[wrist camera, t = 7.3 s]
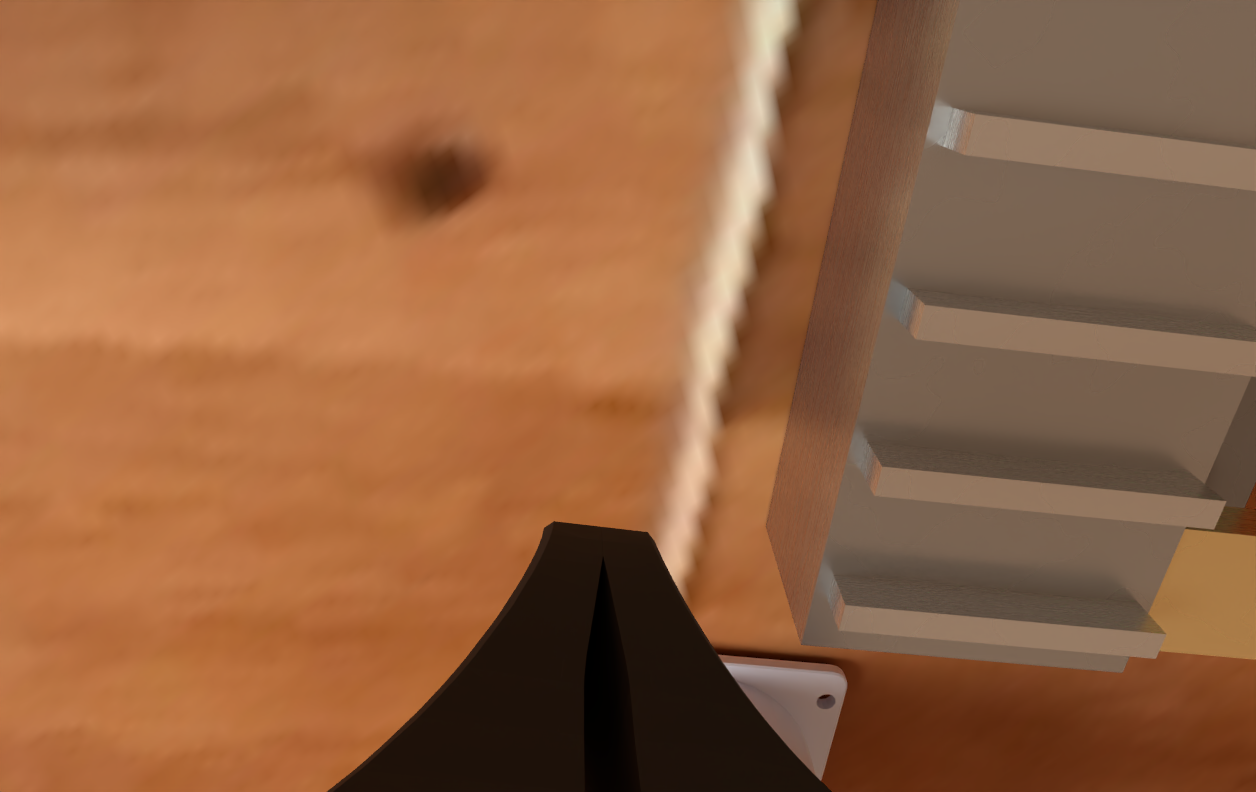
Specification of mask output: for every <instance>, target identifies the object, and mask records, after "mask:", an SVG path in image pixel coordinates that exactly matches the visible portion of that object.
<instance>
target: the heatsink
mask: <svg viewBox="0 0 1256 792" xmlns="http://www.w3.org/2000/svg"><path fill="white" fill-rule="evenodd" d="M1251 376H1253V377H1256V0H878V2H877V6H876V11H875V16H874V21H873V25H872V30H871V35H870V39H869V44H868V49H867V54H866V58H865V63H864V68H863V72H862V77H861V82H860V86H859V91H858V96H857V101H856V105H855V110H854V115H853V119H852V124H851V129H850V134H849V138H848V143H847V148H846V152H845V157H844V162H843V167H842V171H841V176H840V181H839V185H838V190H837V195H836V199H835V204H834V209H833V214H832V218H831V223H830V228H829V232H828V237H827V242H826V247H825V251H824V256H823V261H822V265H821V270H820V275H819V279H818V284H817V289H816V294H815V298H814V303H813V308H812V312H811V317H810V322H809V327H808V331H807V336H806V341H805V345H804V350H803V355H802V360H801V364H800V369H799V374H798V378H797V383H796V388H795V392H794V397H793V402H792V407H791V411H790V416H789V421H788V425H787V430H786V435H785V440H784V444H783V449H782V454H781V458H780V463H779V468H778V472H777V477H776V482H775V487H774V491H773V496H772V501H771V505H770V510H769V515H768V520H767V524H766V528H767V532H768V535H769V538H770V542H771V545H772V549H773V552H774V555H775V559H776V562H777V565H778V569H779V572H780V575H781V579H782V582H783V586H784V589H785V592H786V596H787V599H788V602H789V606H790V609H791V612H792V616H793V619H794V623H795V626H796V629H797V633H798V636H799V639H800V643H801V645H810V646H821V647H832V648H844V649H855V650H867V651H878V652H890V653H901V654H912V655H924V656H935V657H947V658H958V659H969V660H981V661H992V662H1004V663H1015V664H1027V665H1038V666H1049V667H1061V668H1072V669H1084V670H1095V671H1106V672H1118V673H1123V671H1124V668H1125V666H1126V664H1127V661H1128V659H1129V657H1142V658H1153V659H1156V657H1157V655H1158V653H1159V651H1164V652H1176V653H1187V654H1198V655H1209V656H1220V657H1231V658H1243V659H1254V660H1256V509H1248V508H1238V507H1229V506H1225V504H1226V502H1227V501H1226V500H1224V499H1223V498H1222V497H1221V496H1219V495H1218V494H1217V493H1216V492H1214V491H1213V490H1212V489H1210V488H1209V487H1208V486H1207V485H1205V482H1206V480H1207V478H1208V475H1209V473H1210V471H1211V468H1212V466H1213V464H1214V461H1215V459H1216V457H1217V455H1218V452H1219V450H1220V448H1221V445H1222V443H1223V441H1224V438H1225V436H1226V434H1227V432H1228V429H1229V427H1230V425H1231V422H1232V420H1233V418H1234V415H1235V413H1236V411H1237V409H1238V406H1239V404H1240V402H1241V399H1242V397H1243V395H1244V392H1245V390H1246V388H1247V386H1248V383H1249V381H1250V379H1251Z"/></svg>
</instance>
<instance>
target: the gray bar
mask: <svg viewBox="0 0 1256 792" xmlns="http://www.w3.org/2000/svg"><path fill="white" fill-rule="evenodd" d="M1255 483H1256V377H1253V376H1251V379H1250V381H1249V383H1248V386H1247V388H1246V390H1245V392H1244V395H1243V397H1242V399H1241V402H1240V404H1239V406H1238V409H1237V411H1236V413H1235V415H1234V418H1233V420H1232V422H1231V425H1230V427H1229V429H1228V432H1227V434H1226V436H1225V438H1224V441H1223V443H1222V445H1221V448H1220V450H1219V452H1218V455H1217V457H1216V459H1215V461H1214V464H1213V466H1212V468H1211V471H1210V473H1209V475H1208V478H1207V480H1206V482H1205V485H1207V486H1208V487H1209V488H1210V489H1212V490H1213V491H1214V492H1216V493H1217V494H1218V495H1219V496H1221V497H1222V498H1223V499H1224V500H1226V501H1227V502H1226V504H1225V506H1229V507H1238V508H1245V505H1246V503H1247V501H1248V499H1249V496H1250V494H1251V492H1252V490H1253V487H1254V485H1255Z"/></svg>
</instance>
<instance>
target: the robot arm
mask: <svg viewBox="0 0 1256 792" xmlns="http://www.w3.org/2000/svg"><path fill="white" fill-rule="evenodd" d="M846 691H847V680H846V677H845V674H844V672H843V670H842V669H840V668H839V667H838V666H835V665H831V664H819V663H808V662H796V661H785V660H773V659H761V658H750V657H738V656H727V655H718V654H717V653H716V651H715V650H714V648H713V647H712V645H711V644H710V642H709V640H708V639H707V637H706V636H705V634H704V632H703V631H702V629H701V627H700V626H699V624H698V623H697V621H696V619H695V618H694V616H693V614H692V613H691V611H690V609H689V608H688V606H687V604H686V602H685V601H684V599H683V597H682V595H681V594H680V592H679V590H678V588H677V586H676V584H675V582H674V581H673V579H672V577H671V575H670V573H669V571H668V569H667V567H666V565H665V563H664V561H663V559H662V557H661V555H660V553H659V550H658V548H657V546H656V544H655V541H654V540H653V539H652V537H651V536H650V535H649V533H648V532H641V531H632V530H624V529H615V528H606V527H598V526H589V525H580V524H572V523H563V522H555V521H554V522H552V523H551V524H549V525H548V526H546V527H545V528H544V531H543V535H542V539H541V541H540V544H539V546H538V549H537V551H536V553H535V555H534V557H533V559H532V561H531V563H530V565H529V567H528V569H527V570H526V572H525V574H524V576H523V578H522V579H521V581H520V583H519V584H518V586H517V587H516V589H515V590H514V592H513V594H512V595H511V597H510V598H509V600H508V601H507V603H506V604H505V606H504V608H503V609H502V611H501V612H500V614H499V615H498V617H497V618H496V619H495V621H494V622H493V623H492V625H491V626H490V627H489V629H488V630H487V631H486V633H485V634H484V635H483V637H482V638H481V639H480V640H479V642H478V643H477V644H476V646H475V647H474V648H473V650H472V651H471V652H470V653H469V655H468V656H467V657H466V659H465V660H464V661H463V662H462V663H461V665H460V666H459V667H458V668H457V669H456V670H455V672H454V673H453V674H452V675H451V676H450V677H449V679H448V680H447V681H446V682H445V683H444V684H443V685H442V686H441V688H440V689H439V690H438V691H437V692H436V693H435V694H434V695H433V696H432V697H431V698H430V699H429V700H428V701H427V702H426V703H425V705H424V706H423V707H422V708H421V709H420V710H419V711H418V712H417V713H416V714H415V715H414V716H413V717H412V718H411V719H410V720H409V721H407V722H406V723H405V724H404V725H403V726H402V727H401V728H400V729H399V730H398V731H397V732H396V733H395V734H394V735H393V736H392V737H391V738H390V739H389V740H388V741H386V742H385V743H384V744H383V745H382V746H381V747H380V748H379V749H378V750H377V751H376V752H375V753H373V754H372V755H371V756H370V757H369V758H368V759H367V760H366V761H364V762H363V763H362V764H361V765H360V766H359V767H357V768H356V769H355V770H354V771H353V772H351V773H350V774H349V775H348V776H346V777H345V778H344V779H342V780H341V781H340V782H339V783H337V784H336V785H335V786H334V787H332V788H331V789H330V790H328V791H327V792H832V791H831V790H830V789H829V788H828V787H827V786H826V785H825V784H824V783H822V782H821V780H822V776H823V773H824V769H825V766H826V762H827V759H828V755H829V751H830V748H831V744H832V741H833V737H834V733H835V730H836V726H837V723H838V719H839V716H840V712H841V708H842V705H843V701H844V698H845V694H846ZM826 694H829V695H830V696H829V697H827V698H825V699H819V697H820V696H822V695H826Z"/></svg>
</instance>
